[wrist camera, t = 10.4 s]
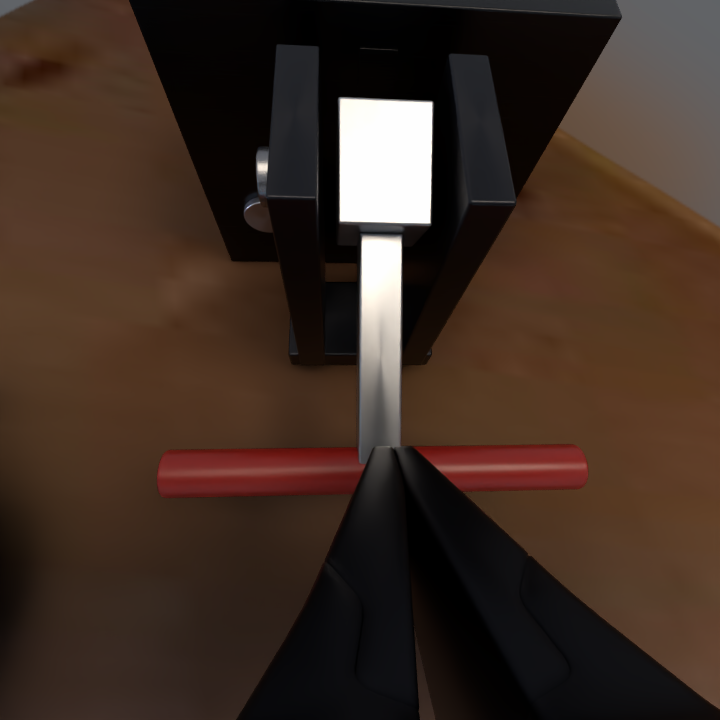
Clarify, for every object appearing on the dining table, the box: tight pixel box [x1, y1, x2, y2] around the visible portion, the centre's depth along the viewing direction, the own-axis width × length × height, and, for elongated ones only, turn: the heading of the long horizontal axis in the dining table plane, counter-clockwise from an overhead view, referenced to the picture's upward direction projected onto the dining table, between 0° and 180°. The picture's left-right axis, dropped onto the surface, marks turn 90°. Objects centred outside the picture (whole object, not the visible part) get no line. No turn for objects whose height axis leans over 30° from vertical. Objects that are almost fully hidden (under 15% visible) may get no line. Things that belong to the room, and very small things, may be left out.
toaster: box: [129, 0, 622, 263], centre depth 16 cm, size 7×12×11 cm, turn 91°
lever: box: [157, 97, 588, 498], centre depth 11 cm, size 10×11×2 cm
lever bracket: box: [256, 44, 516, 365], centre depth 14 cm, size 4×6×11 cm
